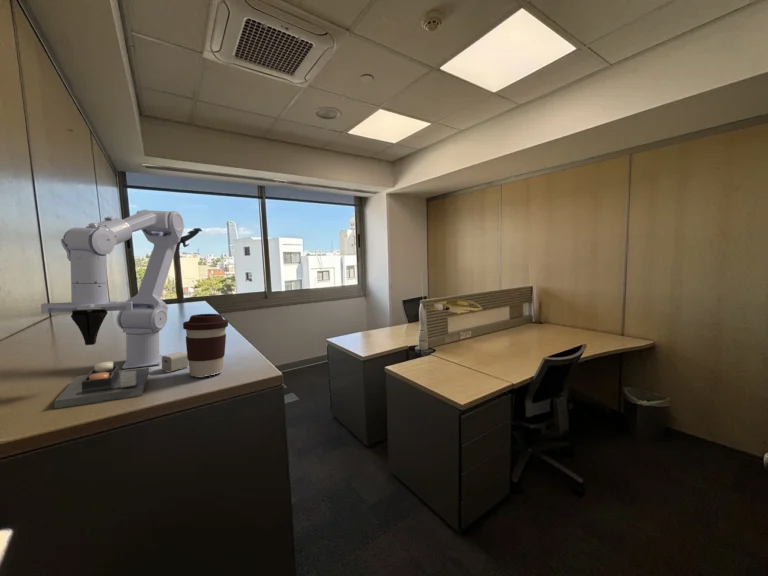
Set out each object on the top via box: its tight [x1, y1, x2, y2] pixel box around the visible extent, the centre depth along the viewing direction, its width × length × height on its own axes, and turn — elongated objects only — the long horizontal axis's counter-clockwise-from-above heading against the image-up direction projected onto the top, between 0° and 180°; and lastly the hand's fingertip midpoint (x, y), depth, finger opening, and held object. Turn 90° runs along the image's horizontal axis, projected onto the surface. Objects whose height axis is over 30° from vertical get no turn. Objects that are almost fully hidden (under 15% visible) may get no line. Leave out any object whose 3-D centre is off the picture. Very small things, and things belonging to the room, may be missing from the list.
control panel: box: [54, 365, 150, 410], centre depth 68 cm, size 15×13×3 cm
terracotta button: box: [89, 372, 109, 380], centre depth 67 cm, size 3×3×2 cm
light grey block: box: [120, 371, 137, 387], centre depth 66 cm, size 2×2×3 cm
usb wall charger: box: [161, 351, 189, 373], centre depth 83 cm, size 4×7×4 cm, turn 156°
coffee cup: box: [182, 313, 229, 377], centre depth 79 cm, size 10×10×15 cm
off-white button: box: [94, 361, 114, 372], centre depth 71 cm, size 3×3×2 cm
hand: (90, 344), depth 69 cm, fingers closed
